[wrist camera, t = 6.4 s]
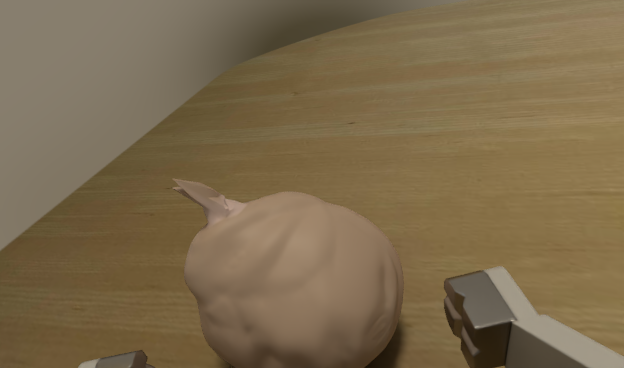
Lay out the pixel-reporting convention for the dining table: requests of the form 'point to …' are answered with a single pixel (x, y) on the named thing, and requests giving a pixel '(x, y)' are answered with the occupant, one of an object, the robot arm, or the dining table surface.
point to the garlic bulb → (291, 281)
